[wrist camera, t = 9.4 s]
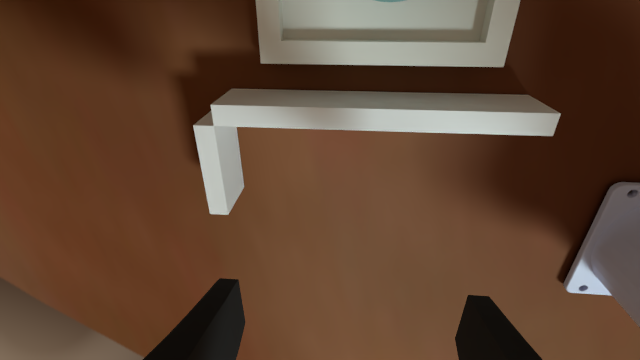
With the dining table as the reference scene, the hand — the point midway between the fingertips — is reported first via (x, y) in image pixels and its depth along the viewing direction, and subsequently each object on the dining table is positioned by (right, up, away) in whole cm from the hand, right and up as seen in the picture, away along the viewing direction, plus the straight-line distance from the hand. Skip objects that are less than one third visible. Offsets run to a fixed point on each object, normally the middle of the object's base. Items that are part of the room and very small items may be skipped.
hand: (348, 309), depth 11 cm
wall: (+1, +6, +8) cm, 10 cm away
